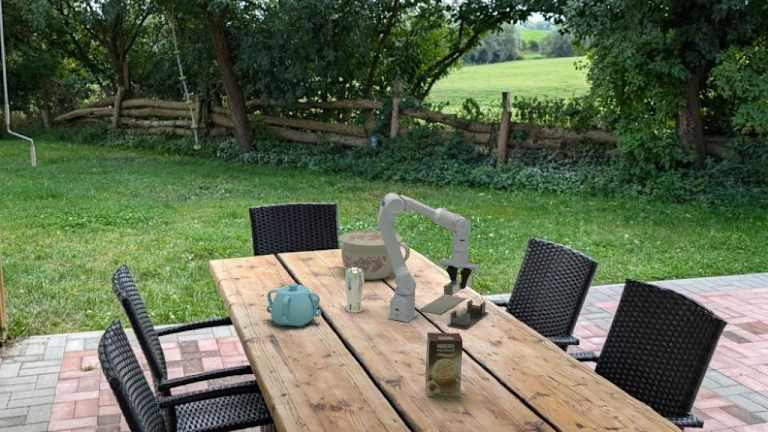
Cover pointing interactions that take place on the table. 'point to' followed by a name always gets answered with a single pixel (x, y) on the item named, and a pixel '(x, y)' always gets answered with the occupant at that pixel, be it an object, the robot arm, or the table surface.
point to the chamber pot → (369, 253)
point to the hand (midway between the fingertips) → (458, 287)
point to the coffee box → (443, 364)
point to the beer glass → (354, 289)
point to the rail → (456, 286)
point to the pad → (442, 304)
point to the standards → (468, 316)
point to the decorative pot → (293, 305)
